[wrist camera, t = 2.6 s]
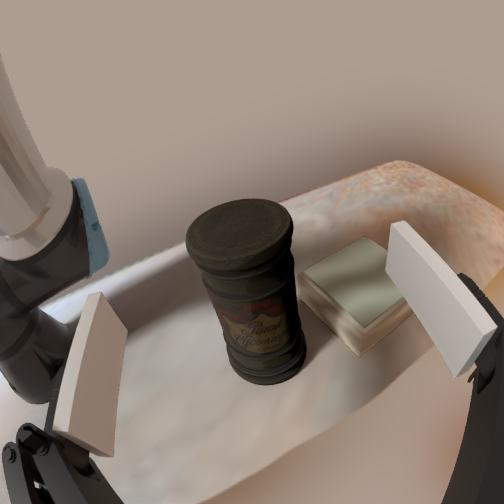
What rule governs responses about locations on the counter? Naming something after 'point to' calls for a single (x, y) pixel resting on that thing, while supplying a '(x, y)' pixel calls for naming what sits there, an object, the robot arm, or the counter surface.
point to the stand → (354, 294)
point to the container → (251, 286)
